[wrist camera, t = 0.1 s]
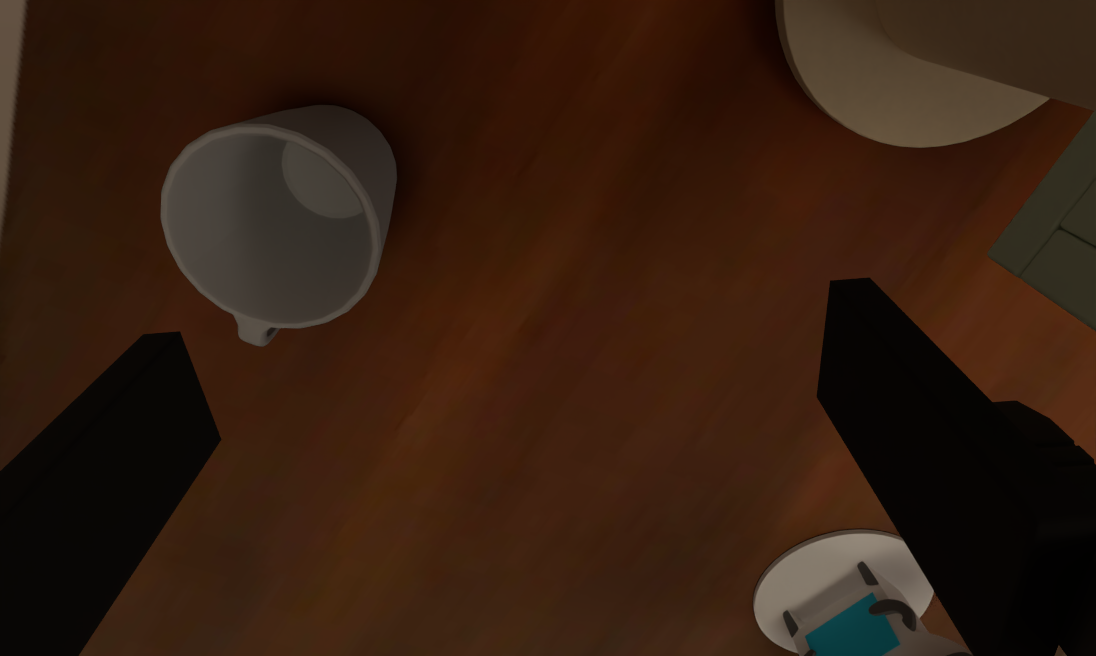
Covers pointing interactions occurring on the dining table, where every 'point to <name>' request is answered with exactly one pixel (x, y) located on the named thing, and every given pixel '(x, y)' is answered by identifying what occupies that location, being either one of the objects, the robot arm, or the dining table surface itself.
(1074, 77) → the tray
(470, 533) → the dining table surface
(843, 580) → the panda figurine
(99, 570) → the robot arm
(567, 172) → the dining table surface
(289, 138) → the cup
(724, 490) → the dining table surface
